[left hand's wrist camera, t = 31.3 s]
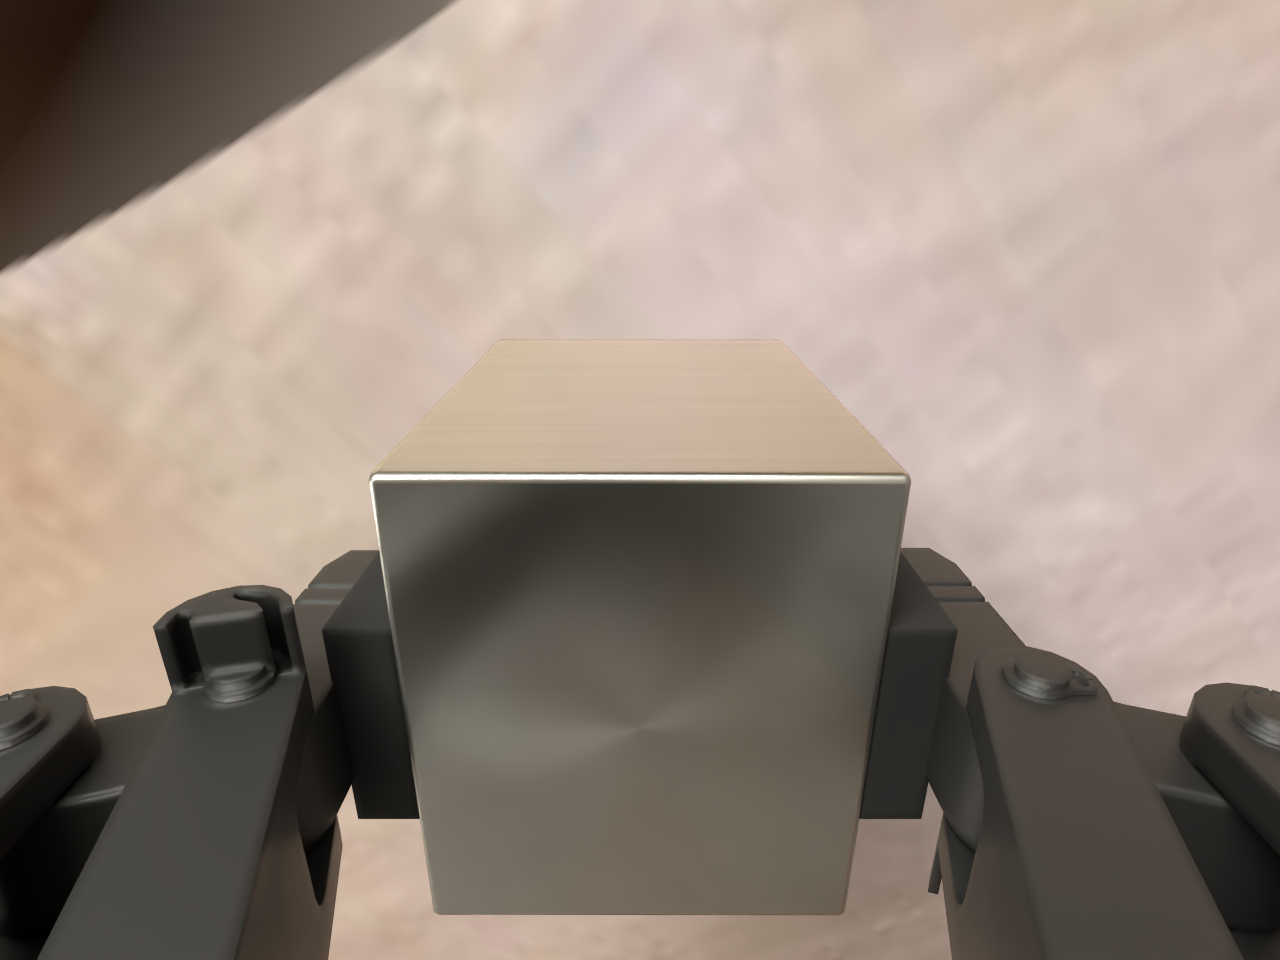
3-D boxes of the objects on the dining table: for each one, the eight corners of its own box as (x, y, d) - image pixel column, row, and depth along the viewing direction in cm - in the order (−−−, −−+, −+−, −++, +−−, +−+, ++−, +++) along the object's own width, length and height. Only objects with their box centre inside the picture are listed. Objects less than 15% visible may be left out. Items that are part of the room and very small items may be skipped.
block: (761, 618, 16) (846, 918, 9) (518, 618, 16) (431, 918, 9) (782, 338, 13) (914, 475, 7) (497, 338, 13) (364, 474, 7)
